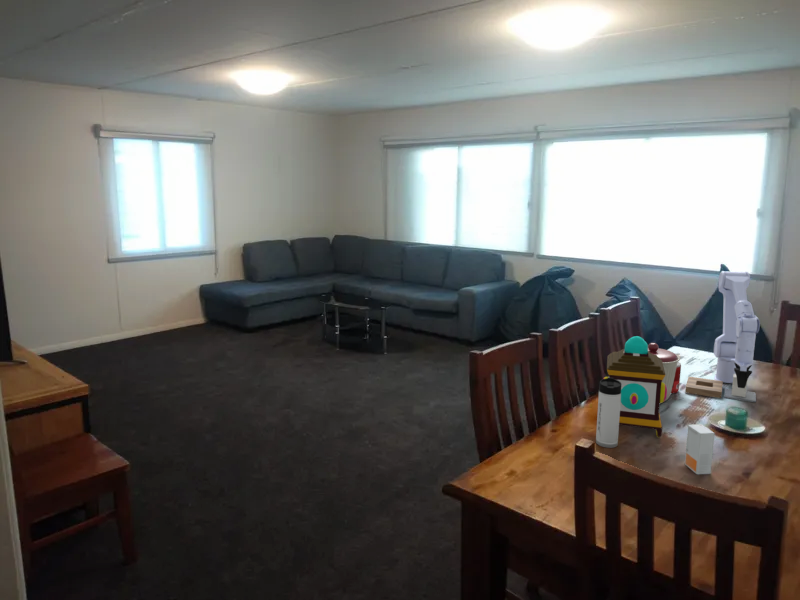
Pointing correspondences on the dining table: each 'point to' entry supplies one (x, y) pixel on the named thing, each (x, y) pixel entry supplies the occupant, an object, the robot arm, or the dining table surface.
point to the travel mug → (608, 413)
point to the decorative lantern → (638, 384)
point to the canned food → (676, 379)
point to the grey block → (736, 390)
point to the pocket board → (704, 387)
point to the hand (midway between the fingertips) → (741, 384)
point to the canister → (666, 365)
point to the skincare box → (699, 449)
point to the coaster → (749, 396)
